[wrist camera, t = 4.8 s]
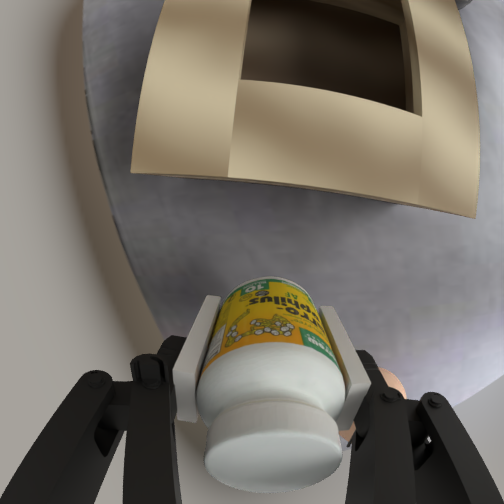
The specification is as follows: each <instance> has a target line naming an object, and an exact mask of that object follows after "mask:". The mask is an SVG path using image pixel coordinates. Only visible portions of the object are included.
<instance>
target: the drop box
mask: <svg viewBox="0 0 504 504" xmlns="http://www.w3.org/2000/svg"><path fill="white" fill-rule="evenodd" d="M479 172H480V129H479V112H478V101H477V93H476V85H475V78H474V72H473V66H472V61H471V56H470V51H469V47H468V43H467V39H466V35H465V31H464V28H463V24H462V21H461V17H460V14H459V11H458V8H457V5H456V2H455V0H165V1H164V4H163V7H162V10H161V13H160V17H159V20H158V23H157V27H156V30H155V34H154V37H153V41H152V45H151V49H150V53H149V57H148V61H147V66H146V70H145V75H144V80H143V85H142V90H141V95H140V101H139V107H138V113H137V120H136V127H135V134H134V142H133V151H132V161H131V173H136V174H148V175H159V176H169V177H178V178H190V179H208V180H222V181H235V182H246V183H257V184H267V185H276V186H285V187H294V188H302V189H309V190H317V191H324V192H331V193H338V194H344V195H350V196H357V197H363V198H368V199H374V200H380V201H385V202H390V203H395V204H401V205H407V206H413V207H419V208H424V209H430V210H435V211H440V212H445V213H450V214H455V215H460V216H465V217H469V218H474V219H475V217H476V209H477V200H478V188H479Z"/></svg>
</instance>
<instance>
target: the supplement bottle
mask: <svg viewBox="0 0 504 504" xmlns="http://www.w3.org/2000/svg"><path fill="white" fill-rule="evenodd" d="M196 400H197V408H198V411H199V414H200V416H201V418H202V420H203V422H204V423H205V425H206V426H207V427H208V432H207V442H206V448H205V453H204V465H205V467H206V469H207V471H208V472H209V473H210V474H211V476H212V477H214V478H215V479H217V480H218V481H220V482H222V483H224V484H226V485H228V486H231V487H233V488H237V489H240V490H245V491H250V492H258V493H278V492H288V491H293V490H298V489H302V488H305V487H308V486H311V485H313V484H316V483H318V482H320V481H322V480H324V479H325V478H327V477H329V476H330V475H331V474H332V473H334V471H336V469H337V468H338V467H339V465H340V463H341V461H342V447H341V442H340V437H339V430H338V427H337V424H336V421H337V420H338V418H339V416H340V414H341V412H342V410H343V407H344V403H345V385H344V381H343V376H342V373H341V371H340V368H339V366H338V363H337V361H336V358H335V356H334V354H333V351H332V349H331V346H330V343H329V341H328V338H327V335H326V332H325V330H324V328H323V325H322V322H321V320H320V317H319V315H318V312H317V310H316V307H315V305H314V303H313V301H312V299H311V297H310V296H309V294H308V293H307V292H306V291H305V290H304V289H303V288H302V287H301V286H299V285H298V284H296V283H294V282H292V281H290V280H287V279H284V278H280V277H273V276H268V277H261V278H257V279H252V280H249V281H246V282H244V283H242V284H240V285H239V286H237V287H236V288H234V289H233V290H232V291H231V292H230V293H229V295H228V296H227V297H226V299H225V300H224V302H223V304H222V306H221V309H220V312H219V316H218V319H217V322H216V326H215V329H214V332H213V336H212V339H211V343H210V346H209V349H208V353H207V356H206V359H205V363H204V366H203V370H202V373H201V376H200V380H199V384H198V388H197V395H196Z"/></svg>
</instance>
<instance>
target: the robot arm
mask: <svg viewBox="0 0 504 504" xmlns="http://www.w3.org/2000/svg"><path fill="white" fill-rule="evenodd" d="M471 1H472V0H455V2H456V5H457V8H458V10H460V9H462V8H463V7H465V6H466V5H468V4H469V3H470V2H471ZM220 302H221V297H220V296H211V295H207V296H206V298H205V300H204V302H203V304H202V307H201V309H200V311H199V313H198V315H197V317H196V320H195V322H194V324H193V326H192V328H191V330H190V332H189V335H188V337H187V338H185V337H179V336H173V335H172V336H170V337H169V338H167V339H166V340H164V342H163V343H162V345H161V347H160V349H159V351H158V353H157V354H156V355H155V354H142V355H139V356H136V357H135V358H134V359H132V361H131V363H130V366H131V372H132V377H133V381H127V382H121V381H120V382H119V381H112V377H111V376H110V375H109V374H108V373H106V372H104V371H100V370H93V371H89V372H87V373H85V374H84V375H83V376H82V377H81V378H80V379H79V380H78V382H77V383H76V384H75V386H74V387H73V388H72V390H71V391H70V392H69V394H68V395H67V396H66V398H65V399H64V401H63V402H62V403H61V405H60V406H59V407H58V409H57V410H56V412H55V413H54V414H53V416H52V417H51V419H50V420H49V422H48V423H47V424H46V426H45V427H44V429H43V430H42V432H41V433H40V435H39V436H38V438H37V439H36V441H35V442H34V444H33V445H32V447H31V449H30V450H29V451H28V453H27V454H26V456H25V458H24V459H23V461H22V463H21V464H20V466H19V467H18V469H17V471H16V472H15V474H14V476H13V477H12V479H11V481H10V482H9V484H8V486H7V487H6V489H5V491H4V493H3V494H2V496H1V498H0V504H94V502H95V500H96V497H97V495H98V492H99V489H100V487H101V485H102V482H103V480H104V478H105V475H106V473H107V470H108V468H109V466H110V463H111V461H112V458H113V456H114V454H115V451H116V449H117V447H118V445H119V442H120V440H121V438H122V435H123V433H124V431H127V434H126V446H125V458H124V476H123V504H182V500H181V492H180V484H179V475H178V465H177V452H176V439H175V425H174V419H175V416H176V413H177V419H178V420H182V421H187V422H193V423H196V422H197V419H198V414H199V411H198V408H197V400H196V395H197V388H198V384H199V380H200V376H201V373H202V370H203V366H204V363H205V359H206V356H207V353H208V349H209V346H210V343H211V339H212V336H213V332H214V329H215V326H216V322H217V319H218V316H219V312H220ZM318 315H319V317H320V320H321V322H322V325H323V328H324V330H325V332H326V335H327V338H328V341H329V343H330V346H331V349H332V351H333V354H334V356H335V358H336V361H337V363H338V366H339V368H340V371H341V373H342V376H343V381H344V385H345V403H344V407H343V410H342V412H341V414H340V416H339V418H338V420H337V421H336V424H337V427H338V430H339V431H344V430H349V429H350V428H351V426H352V424H353V422H354V424H355V427H356V430H355V431H354V433H353V435H352V437H351V439H350V441H349V442H348V444H347V447H350V445H351V443H352V449H351V460H350V470H349V479H348V486H347V494H346V501H345V504H504V501H503V499H502V497H501V495H500V493H499V491H498V488H497V486H496V484H495V482H494V480H493V478H492V476H491V475H490V473H489V471H488V469H487V467H486V465H485V463H484V461H483V459H482V457H481V456H480V454H479V452H478V450H477V448H476V447H475V445H474V444H473V441H472V440H471V438H470V436H469V435H468V433H467V431H466V430H465V428H464V426H463V425H462V423H461V421H460V420H459V418H458V417H457V415H456V413H455V412H454V410H453V409H452V407H451V405H450V404H449V402H448V401H447V399H446V398H445V397H444V396H442V395H441V394H439V393H435V392H428V393H425V394H424V395H423V396H422V397H421V399H420V401H418V400H409V399H404V397H403V395H402V393H401V392H400V391H399V390H397V389H395V388H392V387H389V386H388V385H387V383H386V381H385V379H384V377H383V375H382V373H381V372H380V370H379V368H378V366H377V364H376V363H375V361H374V359H373V357H372V356H371V355H370V354H369V353H367V352H366V351H365V350H355V349H354V346H353V345H352V343H351V341H350V339H349V337H348V335H347V333H346V331H345V329H344V327H343V325H342V323H341V321H340V319H339V317H338V315H337V313H336V311H335V309H334V308H333V307H331V306H320V308H319V313H318ZM428 436H429V437H430V439H431V442H430V443H429V441H428V440H427V438H428Z"/></svg>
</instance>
